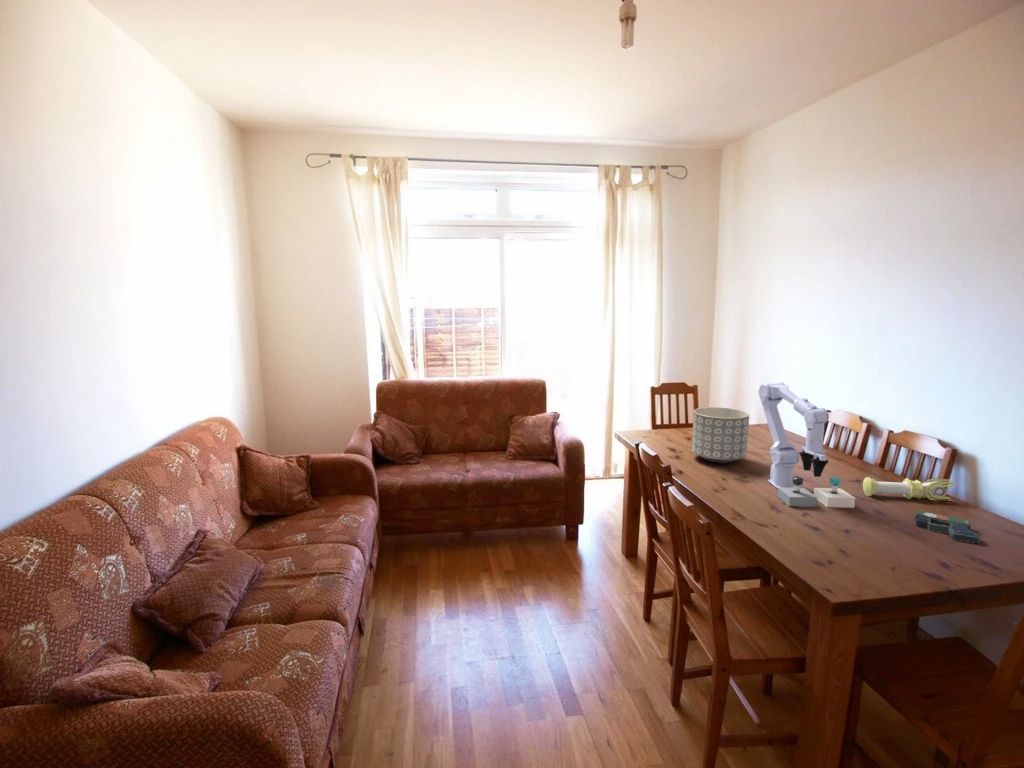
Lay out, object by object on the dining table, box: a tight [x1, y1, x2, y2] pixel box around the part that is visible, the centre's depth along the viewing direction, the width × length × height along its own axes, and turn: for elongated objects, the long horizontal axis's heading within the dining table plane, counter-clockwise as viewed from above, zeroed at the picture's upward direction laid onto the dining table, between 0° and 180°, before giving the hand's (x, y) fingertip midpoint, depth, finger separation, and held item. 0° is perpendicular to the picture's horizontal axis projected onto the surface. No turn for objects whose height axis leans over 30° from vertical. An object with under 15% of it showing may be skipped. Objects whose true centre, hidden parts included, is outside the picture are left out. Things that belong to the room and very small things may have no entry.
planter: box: [691, 406, 750, 464], centre depth 252 cm, size 25×25×24 cm
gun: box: [915, 509, 981, 544], centre depth 175 cm, size 3×16×15 cm
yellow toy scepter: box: [862, 476, 956, 502], centre depth 203 cm, size 8×8×30 cm
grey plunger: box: [792, 476, 804, 494], centre depth 200 cm, size 4×4×6 cm
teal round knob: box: [829, 476, 842, 494], centre depth 199 cm, size 4×4×6 cm
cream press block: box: [812, 487, 856, 509], centre depth 200 cm, size 10×10×4 cm
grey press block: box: [776, 487, 818, 508], centre depth 200 cm, size 10×10×4 cm
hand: (812, 473), depth 202 cm, fingers open, 7 cm apart
